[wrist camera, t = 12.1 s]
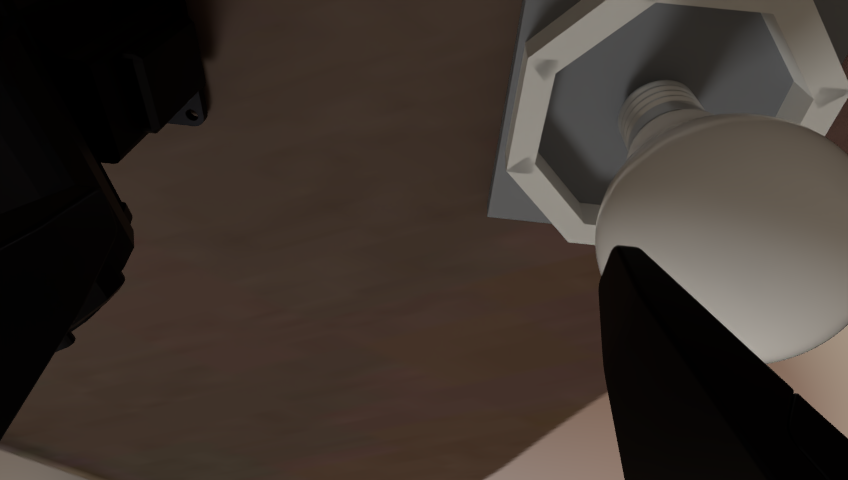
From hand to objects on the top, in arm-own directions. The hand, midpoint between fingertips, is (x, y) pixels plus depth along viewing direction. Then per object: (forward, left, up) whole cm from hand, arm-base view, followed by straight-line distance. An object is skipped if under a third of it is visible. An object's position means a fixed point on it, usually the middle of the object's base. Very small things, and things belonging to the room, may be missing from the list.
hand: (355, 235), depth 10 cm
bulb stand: (+9, -3, -13) cm, 16 cm away
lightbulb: (+9, -2, -12) cm, 15 cm away
